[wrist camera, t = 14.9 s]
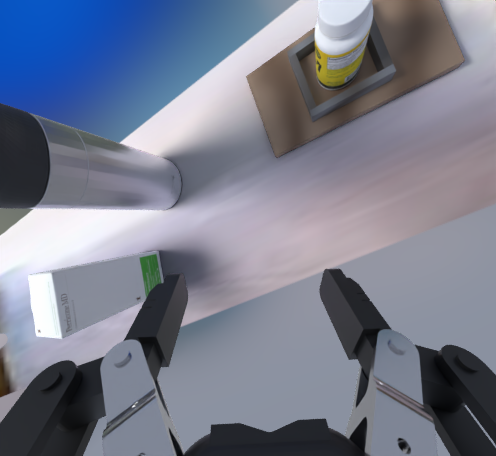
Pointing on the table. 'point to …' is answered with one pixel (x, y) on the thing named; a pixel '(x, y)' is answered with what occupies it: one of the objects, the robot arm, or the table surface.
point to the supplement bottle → (341, 40)
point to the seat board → (367, 80)
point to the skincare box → (91, 292)
